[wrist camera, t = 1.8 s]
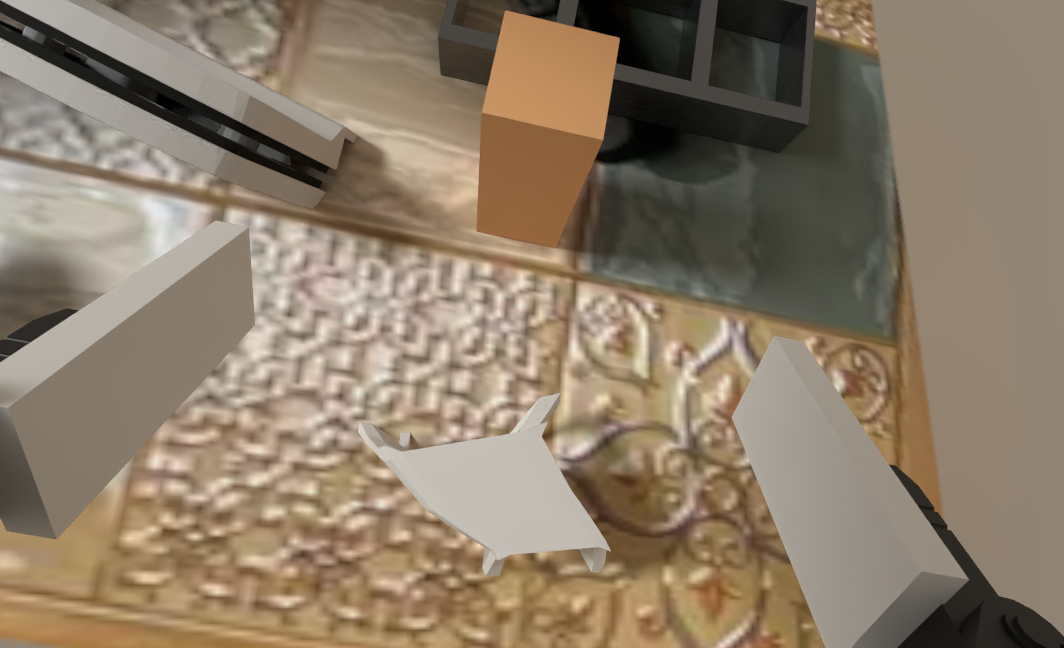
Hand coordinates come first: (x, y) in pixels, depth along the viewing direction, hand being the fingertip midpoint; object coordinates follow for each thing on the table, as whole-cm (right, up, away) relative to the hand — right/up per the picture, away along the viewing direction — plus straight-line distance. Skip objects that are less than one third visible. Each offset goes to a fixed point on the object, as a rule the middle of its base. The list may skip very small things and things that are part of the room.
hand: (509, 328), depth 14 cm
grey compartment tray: (+6, +17, +20) cm, 27 cm away
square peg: (0, +7, +17) cm, 19 cm away
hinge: (-18, +11, +16) cm, 27 cm away
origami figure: (-2, -7, +14) cm, 16 cm away
